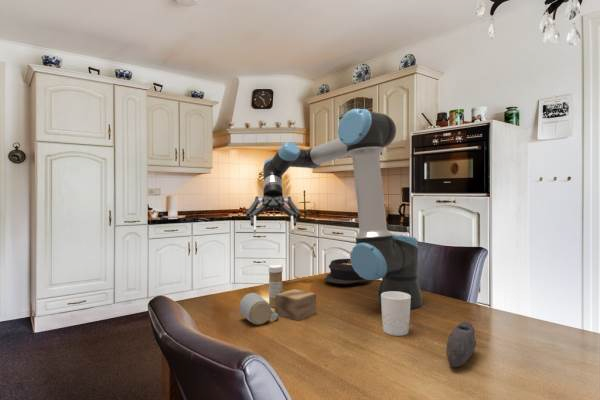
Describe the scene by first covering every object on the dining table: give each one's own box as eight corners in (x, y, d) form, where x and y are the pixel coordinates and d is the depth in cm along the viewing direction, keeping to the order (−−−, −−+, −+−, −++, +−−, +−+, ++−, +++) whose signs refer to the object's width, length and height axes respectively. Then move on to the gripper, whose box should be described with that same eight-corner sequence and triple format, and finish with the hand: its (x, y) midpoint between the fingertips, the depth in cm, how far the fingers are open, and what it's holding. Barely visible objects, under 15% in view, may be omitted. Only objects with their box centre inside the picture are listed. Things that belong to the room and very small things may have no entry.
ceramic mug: (249, 328, 107) (249, 300, 107) (238, 319, 114) (239, 293, 114) (283, 322, 113) (283, 296, 112) (270, 314, 120) (271, 290, 120)
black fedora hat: (345, 273, 178) (345, 255, 178) (382, 279, 167) (382, 259, 166) (313, 283, 159) (313, 263, 159) (352, 291, 147) (352, 269, 147)
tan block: (316, 313, 120) (316, 293, 120) (297, 320, 113) (297, 299, 113) (294, 307, 126) (294, 288, 126) (275, 314, 119) (275, 294, 119)
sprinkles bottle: (274, 303, 131) (274, 263, 131) (285, 305, 129) (285, 265, 128) (265, 306, 127) (265, 266, 127) (277, 308, 125) (277, 267, 124)
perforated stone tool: (463, 376, 80) (463, 343, 80) (437, 369, 83) (437, 337, 83) (479, 352, 92) (479, 323, 92) (456, 346, 95) (456, 318, 95)
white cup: (411, 328, 107) (411, 292, 107) (409, 338, 100) (410, 300, 100) (382, 325, 110) (382, 290, 110) (378, 334, 103) (379, 297, 102)
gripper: (303, 196, 157) (307, 238, 142) (241, 196, 154) (239, 238, 140) (305, 183, 151) (309, 225, 137) (240, 182, 149) (238, 225, 134)
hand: (273, 231), depth 138 cm, fingers open, 13 cm apart
